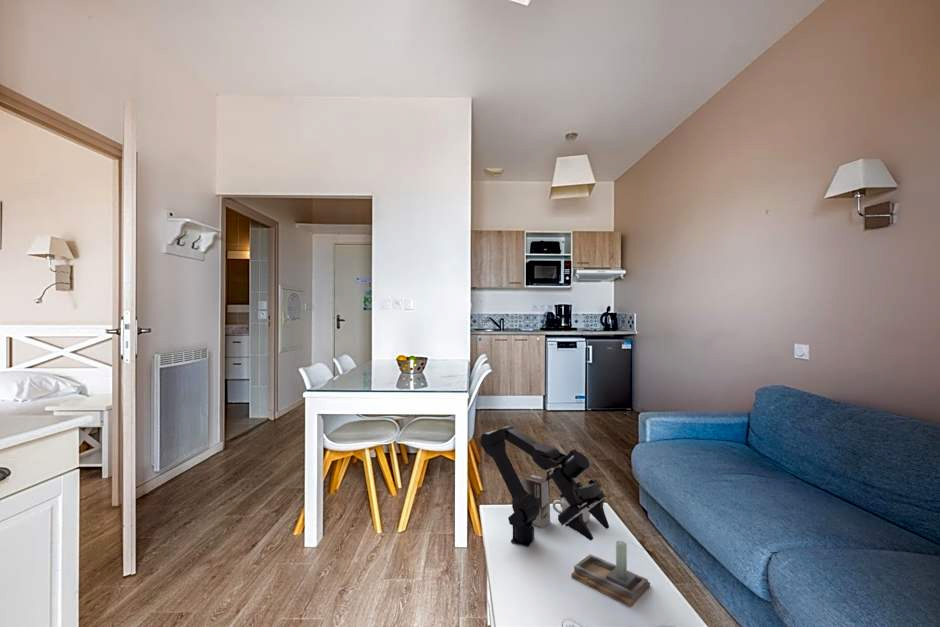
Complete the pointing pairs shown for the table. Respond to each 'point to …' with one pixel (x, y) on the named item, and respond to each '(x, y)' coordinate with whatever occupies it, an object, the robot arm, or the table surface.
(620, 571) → the fader knob
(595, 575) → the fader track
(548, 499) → the coffee box
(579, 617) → the table surface
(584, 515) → the teacup
